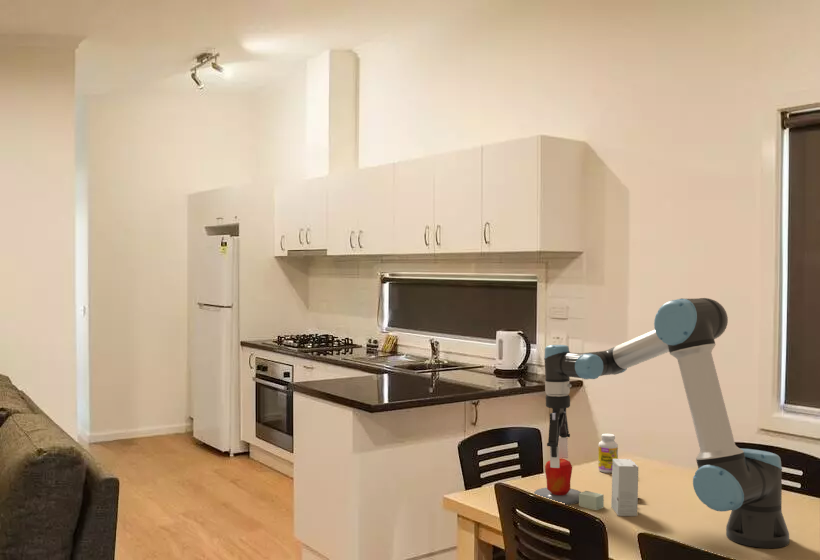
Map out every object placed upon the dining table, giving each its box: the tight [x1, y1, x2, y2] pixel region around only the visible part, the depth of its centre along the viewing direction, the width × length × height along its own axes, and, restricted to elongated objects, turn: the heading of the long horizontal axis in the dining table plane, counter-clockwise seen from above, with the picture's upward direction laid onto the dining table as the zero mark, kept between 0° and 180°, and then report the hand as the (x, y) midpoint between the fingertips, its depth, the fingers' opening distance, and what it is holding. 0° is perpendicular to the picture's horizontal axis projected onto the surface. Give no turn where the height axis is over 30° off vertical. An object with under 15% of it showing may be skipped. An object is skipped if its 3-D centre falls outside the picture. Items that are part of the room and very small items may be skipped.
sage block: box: [578, 490, 605, 511], centre depth 232 cm, size 4×6×4 cm, turn 45°
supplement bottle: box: [597, 433, 619, 474], centre depth 273 cm, size 7×7×13 cm
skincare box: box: [610, 458, 639, 517], centre depth 226 cm, size 8×6×15 cm
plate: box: [534, 487, 582, 505], centre depth 241 cm, size 15×15×1 cm
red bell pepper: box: [544, 456, 573, 495], centre depth 241 cm, size 9×8×12 cm
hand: (559, 462), depth 241 cm, fingers open, 13 cm apart
